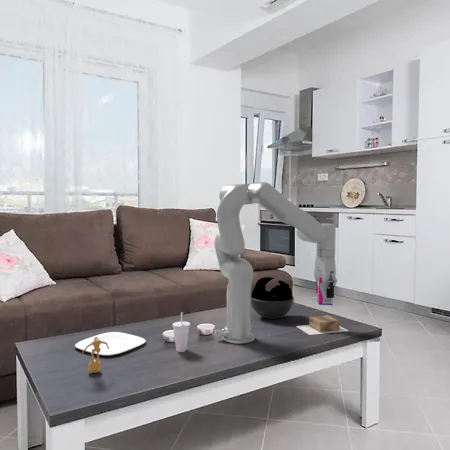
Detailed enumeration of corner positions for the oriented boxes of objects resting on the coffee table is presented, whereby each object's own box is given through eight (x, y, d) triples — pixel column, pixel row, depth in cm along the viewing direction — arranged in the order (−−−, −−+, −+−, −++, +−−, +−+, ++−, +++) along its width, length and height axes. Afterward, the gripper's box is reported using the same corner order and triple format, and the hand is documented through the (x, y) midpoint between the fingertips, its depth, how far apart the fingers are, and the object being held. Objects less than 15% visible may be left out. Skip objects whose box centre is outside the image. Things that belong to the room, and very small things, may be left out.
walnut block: (319, 332, 178) (320, 322, 178) (309, 326, 187) (309, 316, 187) (339, 330, 181) (339, 321, 181) (327, 324, 190) (328, 315, 189)
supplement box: (330, 301, 186) (331, 275, 185) (332, 305, 180) (333, 277, 179) (316, 301, 187) (317, 274, 186) (318, 304, 181) (319, 277, 180)
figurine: (105, 367, 143) (105, 331, 142) (111, 374, 138) (111, 336, 137) (79, 373, 138) (79, 335, 137) (84, 379, 133) (84, 341, 132)
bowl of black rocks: (247, 312, 211) (247, 273, 209) (288, 312, 212) (289, 273, 211) (252, 324, 191) (252, 282, 189) (297, 324, 192) (298, 281, 191)
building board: (309, 336, 175) (309, 334, 175) (295, 327, 187) (295, 326, 187) (348, 332, 181) (348, 330, 181) (333, 324, 192) (333, 322, 192)
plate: (109, 362, 149) (109, 357, 148) (67, 349, 160) (67, 344, 160) (152, 343, 167) (152, 339, 167) (112, 333, 178) (112, 329, 178)
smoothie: (173, 353, 155) (173, 314, 154) (171, 347, 161) (171, 310, 161) (191, 352, 157) (191, 313, 156) (188, 346, 163) (188, 309, 162)
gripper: (307, 251, 189) (306, 291, 190) (328, 256, 173) (327, 301, 174) (322, 250, 191) (322, 290, 193) (345, 255, 175) (344, 299, 176)
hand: (324, 295), depth 183 cm, fingers closed on supplement box, 7 cm apart
